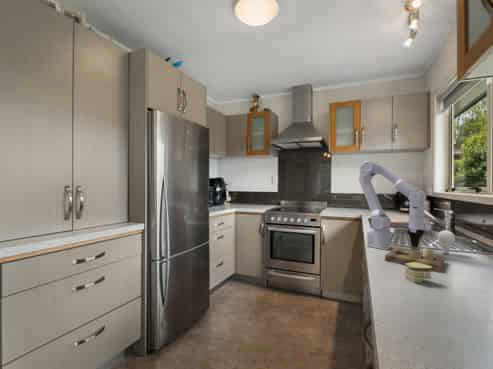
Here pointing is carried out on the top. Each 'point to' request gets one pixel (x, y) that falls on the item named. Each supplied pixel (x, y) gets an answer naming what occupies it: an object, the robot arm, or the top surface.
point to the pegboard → (414, 258)
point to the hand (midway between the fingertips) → (415, 246)
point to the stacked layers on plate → (417, 272)
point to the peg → (428, 254)
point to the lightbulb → (446, 240)
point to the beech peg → (416, 247)
